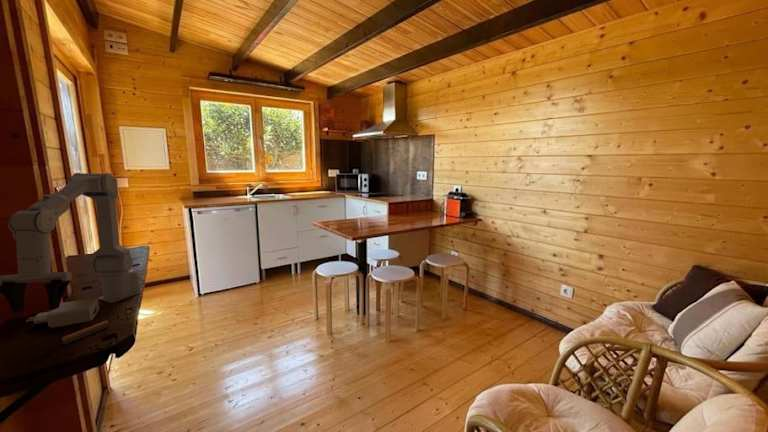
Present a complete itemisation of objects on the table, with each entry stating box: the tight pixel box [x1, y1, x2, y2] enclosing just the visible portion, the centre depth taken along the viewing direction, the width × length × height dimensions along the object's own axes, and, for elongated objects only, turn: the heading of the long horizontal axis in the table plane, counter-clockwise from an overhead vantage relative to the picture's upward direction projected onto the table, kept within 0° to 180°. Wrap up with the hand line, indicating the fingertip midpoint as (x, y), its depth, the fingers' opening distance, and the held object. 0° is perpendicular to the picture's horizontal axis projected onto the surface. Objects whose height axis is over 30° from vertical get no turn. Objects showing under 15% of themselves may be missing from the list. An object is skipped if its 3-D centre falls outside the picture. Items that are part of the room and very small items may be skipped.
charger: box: [25, 297, 100, 329], centre depth 97 cm, size 5×9×15 cm
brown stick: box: [61, 320, 110, 345], centre depth 90 cm, size 10×1×2 cm, turn 156°
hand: (36, 310), depth 82 cm, fingers open, 7 cm apart
